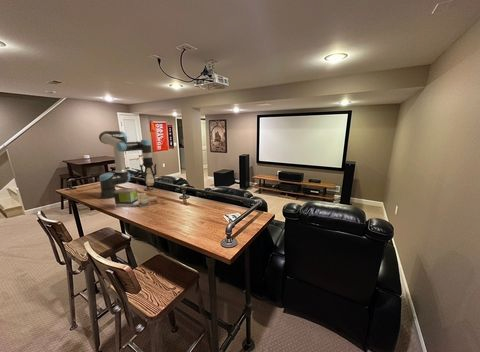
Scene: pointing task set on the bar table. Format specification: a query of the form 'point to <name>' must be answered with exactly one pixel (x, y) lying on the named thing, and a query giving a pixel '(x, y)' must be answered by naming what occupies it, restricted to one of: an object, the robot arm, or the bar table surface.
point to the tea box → (126, 197)
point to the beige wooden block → (149, 179)
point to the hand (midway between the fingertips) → (150, 183)
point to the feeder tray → (151, 198)
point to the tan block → (143, 198)
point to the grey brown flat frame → (149, 203)
